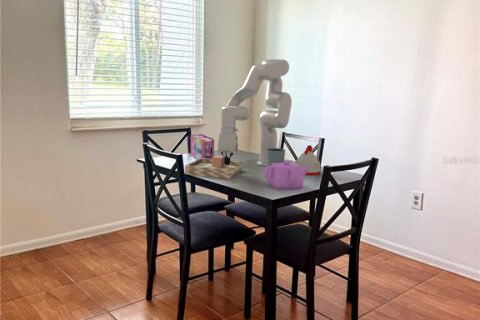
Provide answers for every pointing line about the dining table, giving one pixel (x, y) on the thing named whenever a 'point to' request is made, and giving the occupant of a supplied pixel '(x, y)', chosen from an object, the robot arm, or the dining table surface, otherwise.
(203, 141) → the gum box
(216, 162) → the block
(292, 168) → the teakettle
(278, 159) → the gray plant pot
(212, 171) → the wooden tray
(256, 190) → the dining table surface
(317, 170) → the kitchen timer
